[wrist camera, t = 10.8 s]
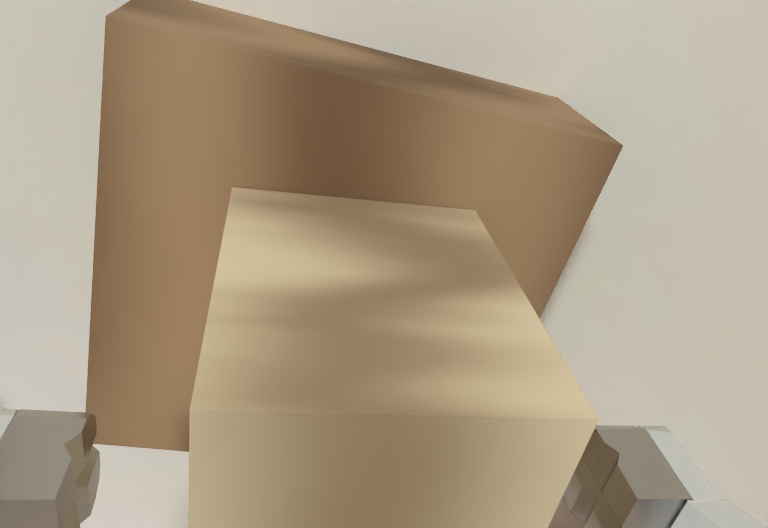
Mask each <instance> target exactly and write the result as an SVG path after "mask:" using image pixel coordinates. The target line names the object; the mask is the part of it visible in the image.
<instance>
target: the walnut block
mask: <svg viewBox="0 0 768 528" xmlns="http://www.w3.org/2000/svg"><path fill="white" fill-rule="evenodd" d="M622 147H623V145H622V144H620V143H619V142H617V141H616V140H615V139H613V138H612V137H611V136H609V135H608V134H607V133H605V132H604V131H602V130H601V129H600V128H598V127H597V126H596V125H594V124H593V123H591V122H590V121H589V120H587V119H586V118H585V117H583V116H582V115H581V114H579V113H578V112H576V111H575V110H574V109H572V108H571V107H570V106H568V105H567V104H565V103H564V102H563V101H561V100H560V99H559V98H557V97H553V96H549V95H545V94H542V93H538V92H534V91H530V90H526V89H523V88H519V87H515V86H511V85H508V84H504V83H500V82H496V81H492V80H489V79H485V78H481V77H477V76H474V75H470V74H466V73H462V72H459V71H455V70H451V69H447V68H443V67H440V66H436V65H432V64H428V63H425V62H421V61H417V60H413V59H409V58H406V57H402V56H398V55H394V54H391V53H387V52H383V51H379V50H376V49H372V48H368V47H364V46H360V45H357V44H353V43H349V42H345V41H342V40H338V39H334V38H330V37H326V36H323V35H319V34H315V33H311V32H308V31H304V30H300V29H296V28H293V27H289V26H285V25H281V24H277V23H274V22H270V21H266V20H262V19H259V18H255V17H251V16H247V15H243V14H240V13H236V12H232V11H228V10H225V9H221V8H217V7H213V6H210V5H206V4H202V3H198V2H194V1H191V0H131V1H129V2H128V3H126V4H124V5H123V6H121V7H120V8H118V9H116V10H115V11H113V12H112V13H110V14H108V15H107V16H106V23H105V43H104V63H103V83H102V102H101V122H100V142H99V161H98V181H97V201H96V220H95V240H94V260H93V279H92V299H91V319H90V338H89V358H88V378H87V397H86V413H92V414H94V415H95V417H96V425H97V433H96V436H95V439H94V442H93V444H104V445H116V446H128V447H140V448H152V449H164V450H176V451H188V452H189V414H190V405H191V400H192V394H193V389H194V384H195V379H196V374H197V368H198V363H199V358H200V353H201V347H202V342H203V337H204V332H205V326H206V321H207V316H208V311H209V305H210V300H211V295H212V290H213V285H214V279H215V274H216V269H217V264H218V258H219V253H220V248H221V243H222V237H223V232H224V227H225V222H226V217H227V211H228V206H229V201H230V196H231V190H232V187H236V188H246V189H257V190H267V191H278V192H288V193H299V194H309V195H320V196H330V197H341V198H351V199H362V200H373V201H383V202H394V203H404V204H415V205H425V206H436V207H446V208H457V209H467V210H475V211H476V212H477V214H478V216H479V218H480V219H481V221H482V223H483V224H484V226H485V228H486V229H487V231H488V233H489V234H490V236H491V238H492V239H493V241H494V243H495V245H496V246H497V248H498V250H499V251H500V253H501V255H502V256H503V258H504V260H505V261H506V263H507V265H508V266H509V268H510V270H511V272H512V273H513V275H514V277H515V278H516V280H517V282H518V283H519V285H520V287H521V288H522V290H523V292H524V293H525V295H526V297H527V299H528V300H529V302H530V304H531V305H532V307H533V309H534V310H535V312H536V314H537V315H538V317H539V318H540V316H541V314H542V312H543V310H544V308H545V306H546V304H547V302H548V300H549V298H550V296H551V294H552V292H553V289H554V287H555V285H556V283H557V281H558V279H559V277H560V275H561V273H562V271H563V269H564V267H565V265H566V263H567V261H568V259H569V256H570V254H571V252H572V250H573V248H574V246H575V244H576V242H577V240H578V238H579V236H580V234H581V232H582V230H583V228H584V226H585V223H586V221H587V219H588V217H589V215H590V213H591V211H592V209H593V207H594V205H595V203H596V201H597V199H598V197H599V195H600V193H601V190H602V188H603V186H604V184H605V182H606V180H607V178H608V176H609V174H610V172H611V170H612V168H613V166H614V164H615V162H616V159H617V157H618V155H619V153H620V151H621V149H622Z"/></svg>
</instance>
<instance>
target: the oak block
mask: <svg viewBox="0 0 768 528" xmlns="http://www.w3.org/2000/svg"><path fill="white" fill-rule="evenodd" d="M598 421H599V418H598V417H597V415H596V413H595V412H594V410H593V408H592V406H591V405H590V403H589V401H588V400H587V398H586V396H585V395H584V393H583V391H582V390H581V388H580V386H579V385H578V383H577V381H576V380H575V378H574V376H573V374H572V373H571V371H570V369H569V368H568V366H567V364H566V363H565V361H564V359H563V358H562V356H561V354H560V353H559V351H558V349H557V347H556V346H555V344H554V342H553V341H552V339H551V337H550V336H549V334H548V332H547V331H546V329H545V327H544V326H543V324H542V322H541V320H540V319H539V317H538V315H537V314H536V312H535V310H534V309H533V307H532V305H531V304H530V302H529V300H528V299H527V297H526V295H525V293H524V292H523V290H522V288H521V287H520V285H519V283H518V282H517V280H516V278H515V277H514V275H513V273H512V272H511V270H510V268H509V266H508V265H507V263H506V261H505V260H504V258H503V256H502V255H501V253H500V251H499V250H498V248H497V246H496V245H495V243H494V241H493V239H492V238H491V236H490V234H489V233H488V231H487V229H486V228H485V226H484V224H483V223H482V221H481V219H480V218H479V216H478V214H477V212H476V211H475V210H467V209H457V208H446V207H436V206H425V205H415V204H404V203H394V202H383V201H373V200H362V199H351V198H341V197H330V196H320V195H309V194H299V193H288V192H278V191H267V190H257V189H246V188H236V187H232V190H231V196H230V201H229V206H228V211H227V217H226V222H225V227H224V232H223V237H222V243H221V248H220V253H219V258H218V264H217V269H216V274H215V279H214V285H213V290H212V295H211V300H210V305H209V311H208V316H207V321H206V326H205V332H204V337H203V342H202V347H201V353H200V358H199V363H198V368H197V374H196V379H195V384H194V389H193V394H192V400H191V405H190V414H189V528H548V526H549V524H550V522H551V520H552V518H553V516H554V514H555V511H556V509H557V507H558V505H559V503H560V501H561V499H562V497H563V495H564V492H565V490H566V488H567V486H568V484H569V482H570V480H571V478H572V476H573V473H574V471H575V469H576V467H577V465H578V463H579V461H580V459H581V457H582V454H583V452H584V450H585V448H586V446H587V444H588V442H589V440H590V437H591V435H592V433H593V431H594V429H595V427H596V425H597V423H598Z"/></svg>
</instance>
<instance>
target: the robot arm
mask: <svg viewBox="0 0 768 528" xmlns="http://www.w3.org/2000/svg"><path fill="white" fill-rule="evenodd" d="M96 433H97V425H96V417H95V415H94V414H92V413H83V412H62V411H42V410H7V409H0V528H80V523H82V522H83V521H84V520H85V519H86V518H87V517H89V516H90V515H91V511H92V508H93V505H94V502H95V498H96V493H97V488H98V483H99V475H100V456H99V451H98V450H97V449H95V448H94V447H93V446H92V445H93V442H94V439H95V436H96ZM564 498H565V501H566V503H567V505H568V508H569V510H570V512H571V513H572V514H573V515H575V516H576V517H577V518H578V519H579V520H580V521H582V522H583V523H584V524H583V528H768V526H766V525H765V524H764V523H762V522H761V521H759V520H758V519H756V518H755V517H753V516H752V515H750V514H749V513H747V512H746V511H744V510H743V509H741V508H740V507H739V506H737V505H736V504H734V503H733V502H731V501H726V500H721V498H720V497H719V495H718V494H717V493H716V491H715V490H714V489H713V487H712V486H711V484H710V483H709V482H708V480H707V479H706V478H705V476H704V475H703V473H702V472H701V471H700V469H699V468H698V467H697V465H696V464H695V462H694V461H693V460H692V458H691V457H690V456H689V454H688V453H687V451H686V450H685V449H684V447H683V446H682V445H681V443H680V442H679V440H678V439H677V438H676V436H675V435H674V434H673V432H672V431H670V430H669V429H667V428H666V427H664V426H637V427H636V426H604V425H596V427H595V429H594V431H593V433H592V435H591V437H590V440H589V442H588V444H587V446H586V448H585V450H584V452H583V454H582V457H581V459H580V461H579V463H578V465H577V467H576V469H575V471H574V473H573V476H572V478H571V480H570V482H569V484H568V486H567V488H566V490H565V492H564Z"/></svg>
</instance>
